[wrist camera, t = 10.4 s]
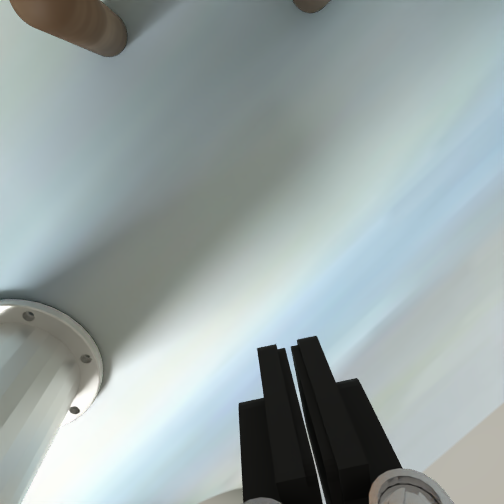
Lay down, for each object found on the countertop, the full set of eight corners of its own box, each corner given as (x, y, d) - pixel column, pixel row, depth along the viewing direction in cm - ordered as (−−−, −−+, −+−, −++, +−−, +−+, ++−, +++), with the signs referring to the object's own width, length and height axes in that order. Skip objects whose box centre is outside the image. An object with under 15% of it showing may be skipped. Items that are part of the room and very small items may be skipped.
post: (93, 60, 24) (23, 36, 16) (77, 14, 23) (-5, -39, 15) (132, 52, 24) (84, 23, 16) (119, 5, 23) (60, -53, 15)
